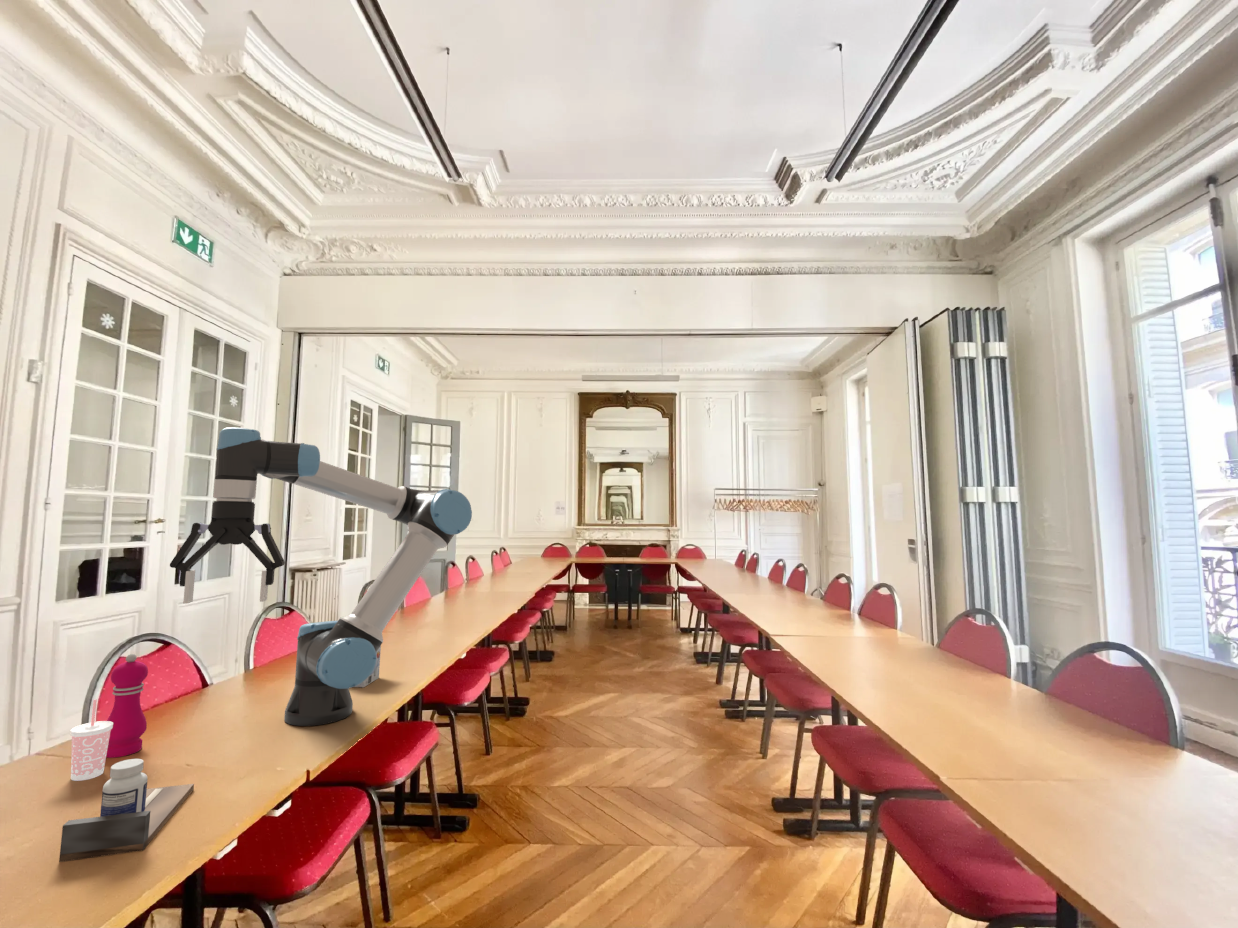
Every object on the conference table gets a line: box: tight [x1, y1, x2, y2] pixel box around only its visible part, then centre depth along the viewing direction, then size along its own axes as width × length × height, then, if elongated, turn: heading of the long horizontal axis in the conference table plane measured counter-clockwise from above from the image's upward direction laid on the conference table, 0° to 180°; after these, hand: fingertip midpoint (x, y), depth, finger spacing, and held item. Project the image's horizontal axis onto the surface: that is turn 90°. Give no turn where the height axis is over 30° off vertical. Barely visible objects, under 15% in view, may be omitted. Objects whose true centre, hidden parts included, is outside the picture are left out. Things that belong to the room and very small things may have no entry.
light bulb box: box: [353, 645, 382, 688], centre depth 173 cm, size 11×7×11 cm, turn 179°
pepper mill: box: [106, 653, 149, 759], centre depth 121 cm, size 7×7×20 cm
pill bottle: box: [99, 758, 148, 817], centre depth 90 cm, size 5×5×10 cm
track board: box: [58, 783, 195, 863], centre depth 94 cm, size 10×20×5 cm, turn 19°
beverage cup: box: [69, 698, 113, 782], centre depth 110 cm, size 6×6×14 cm
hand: (226, 601), depth 121 cm, fingers open, 13 cm apart
